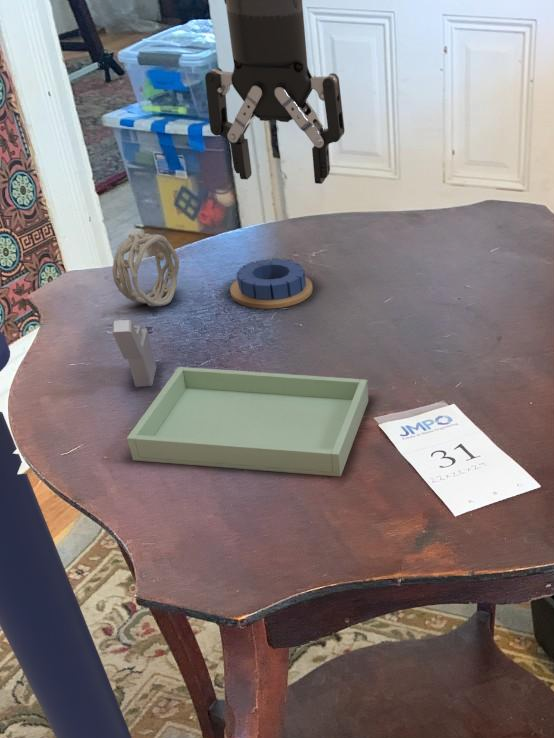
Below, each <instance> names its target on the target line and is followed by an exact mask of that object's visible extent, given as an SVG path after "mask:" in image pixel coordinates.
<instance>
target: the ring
mask: <svg viewBox="0 0 554 738" xmlns="http://www.w3.org/2000/svg"><path fill="white" fill-rule="evenodd" d="M305 277H306V271H305V269H304V267H303V266H302V264H300V263H298V262H296V261H292V260H289V259H288V260H287V259H281V258H272V259H270V258H267V259H261V260H256V261H252V262H249V263H247V264H244V265H243V266H242V267H240V268H239V269H238V271H237V272H236V280H238V286H239V289H240V291H241V292H242V294H244V295H245V296H248V297H250V298H253V299H255V298H257V299H259V300H272V298H273V299H274V300H278V299H284V298H288V296H290V297H292V296H294V295H296V294H298V293H300V292H301V291H303V290H304V288H305V286H306V279H305ZM268 279H272V280H268Z"/></svg>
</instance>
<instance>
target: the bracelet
mask: <svg viewBox="0 0 554 738" xmlns="http://www.w3.org/2000/svg"><path fill="white" fill-rule="evenodd" d="M150 246H151V248H152V251H153V254H154V258H155V263H156V270H157V279H156V281H155V282H154V284H153V287H152V290H151V292H147V294H146V293H144V292H143V290H142V288H141V287H140V285H139V283H138V277H139V276H138V272H139V268H140V266H141V262H142V260H143V257H144V255H145V252H146V250H147V249H148V248H149V247H150ZM158 251H159V252H158ZM127 253H128V257H127V258H126V259H125V258H124V257H125V256H124V255H125V254H127ZM135 253H136V254H137V257H136V260H135ZM134 260H135V261H134ZM164 260H165V263H164V265H163V267H162V266H161V262H162V261H164ZM173 261H174V262H173ZM112 262H113V263H112V277H113V281H114V284H115V286H116V288H117V289H118V291H119V292H120V293H121V294H122V296H124V297H125V298H126V299H127V300H130V301H132V302H135V303H140V304H147V306H150V307H161V306H166V305H168V304H170V303H171V302H172V299H173V298H174V295H175V293H176V289H177V282H178V279H177V277H178V274H179V270H180V259H179V257H178V254H177V251H176V249H174V247H173V246H172V244H171V243H170V242H169V239H167V238H166V237H165V236H164V235H162V234H157V233H152V234H151V233H141V232H140V233H129V234H128V238H125V240H124V241H122V242H121V243H120V244H119V246H118V247H117V249H116V252H115V256H114V259H113V261H112ZM128 269H129V270H128ZM129 271H130V273H131V276H132V277H131V278H130V274H129ZM165 273H166V274H165ZM131 280H132V281H131ZM169 280H170V282H169ZM168 282H169V286H168ZM133 287H134V288H135V289H134V288H133Z"/></svg>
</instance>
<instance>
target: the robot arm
mask: <svg viewBox="0 0 554 738" xmlns="http://www.w3.org/2000/svg"><path fill="white" fill-rule="evenodd" d="M223 1H224V4H225V7H226V15H227V23H228V31H229V37H230V47H231V53H232V54H231V55H232V60H233V71H223V70H222V69H221V67H215V68H212V69H211V70H209V71H208V72H207V73H205V77H204V80H205V89H206V90H205V91H206V101H207V110H208V121H209V129H210V132H211V134H212V135H214V136H218V137H222V138H225V139H226V140H227V141H228V143H229V144H230V150H231V157H232V164H233V170H234V172H235V174H239V179H240V180H249V179H250V178H251V176H252V173H253V172H252V163H251V156H250V149H249V141H248V138H245V134H246V133H247V130H248V129H249V127H250V125H251V124H252V122H253V120H254V119H255V117H256V118H257V119H259V121H261V122H268V121H272V120H275V121H278V122H281V123H282V122H283V123H289V122H290V121H294V122H295V124H296V126H298V128H299V129H300V130H301V131H302V132H304V133H305V135H306V136H307V138H308V139H309V140H310V141H311V143H312V144H313V146H312V148H311V152H312V163H313V164H312V167H313V178H314V184H317V185H318V184H320V185H322V184H324V182H325V179H327V178H328V176H329V175H330V172H331V164H330V163H331V162H330V149H329V148H330V147H329V146H330V144H333V143H337V142H339V141H340V140H341V138H342V137H343V136H344V134H345V122H344V113H343V105H342V96H341V95H342V94H341V86H340V78H339V76H338V75H337V74H336V73H334V72H332V73H329V74H328V75H327V76H312V74H311V72H310V69H309V66H308V56H307V54H308V53H307V42H306V29H305V18H304V8H303V7H304V6H303V0H223ZM231 85H232V87H233V88H234V90H235V91H236V92H237V94H238V95H239V97H240V98H241V100H242V101H243V103H242V105H241V107H240V108H239V110H238V112H237V114H236V116H235V118H234V121H233V123H232V122H230V121H228V120H229V118H228V107H227V97H226V96H227V94H229V92H230V91H231ZM313 90H314V91H315V92H316V93H317V96H318V98H319V100H321V101H322V102H324V107H325V108H324V109H325V117H326V124H327V128H325V127H324V125H323V124H322V122H321V121H320V120H319V117H318V115H317V113H316V112H315V110H314V108H313V107H312V106H311V104H310V103H309V101H308V98H309V96H310V94H311V93H312V91H313Z"/></svg>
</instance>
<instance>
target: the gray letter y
mask: <svg viewBox="0 0 554 738" xmlns="http://www.w3.org/2000/svg"><path fill="white" fill-rule="evenodd" d="M111 329H112V330H111V332H112V336H113V338H114V340H115V342H116V344H117V347H118V349H119V351H120V353H121V355H122V358H123V359H125V360H127V361H128V364H129V370H130V372H131V376H132V380H133V384H134V387H136V388H142V387H143V388H145V387H152V386H153V384H154V380H155V375H156V371H157V363H156V360H155V356H154V355H155V354H154V351H153V348H152V343H151V339H150V335H149V332H148V331H149V330H148V329H147V328H142V327H141V325H136V324H135V325H134V324H133V322H132V320H130V319H122V320H121V319H119V320H113V321H112V328H111Z"/></svg>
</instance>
